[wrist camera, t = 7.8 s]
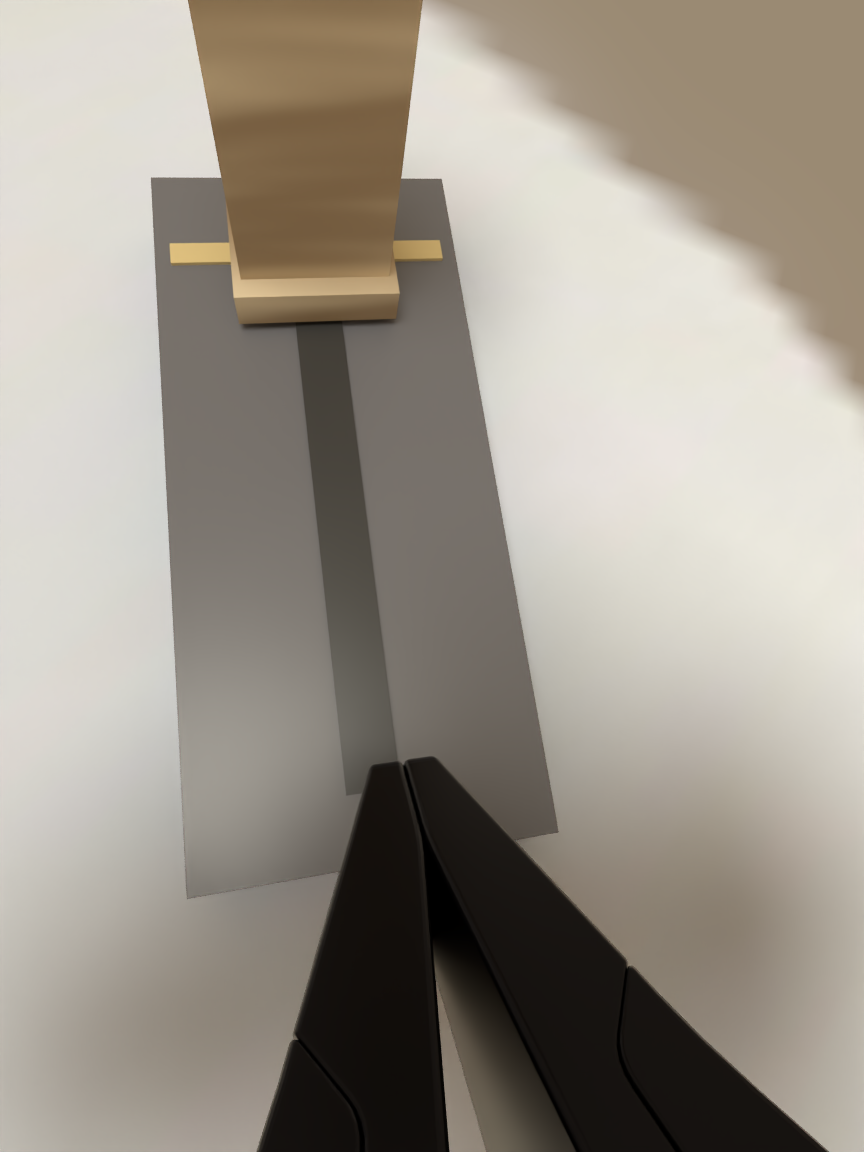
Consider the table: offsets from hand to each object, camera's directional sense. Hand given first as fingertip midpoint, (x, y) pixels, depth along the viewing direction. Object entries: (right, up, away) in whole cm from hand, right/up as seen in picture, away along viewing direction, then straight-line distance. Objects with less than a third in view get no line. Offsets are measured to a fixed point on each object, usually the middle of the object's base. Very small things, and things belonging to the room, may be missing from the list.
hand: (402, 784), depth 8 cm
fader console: (-2, +5, +10) cm, 11 cm away
